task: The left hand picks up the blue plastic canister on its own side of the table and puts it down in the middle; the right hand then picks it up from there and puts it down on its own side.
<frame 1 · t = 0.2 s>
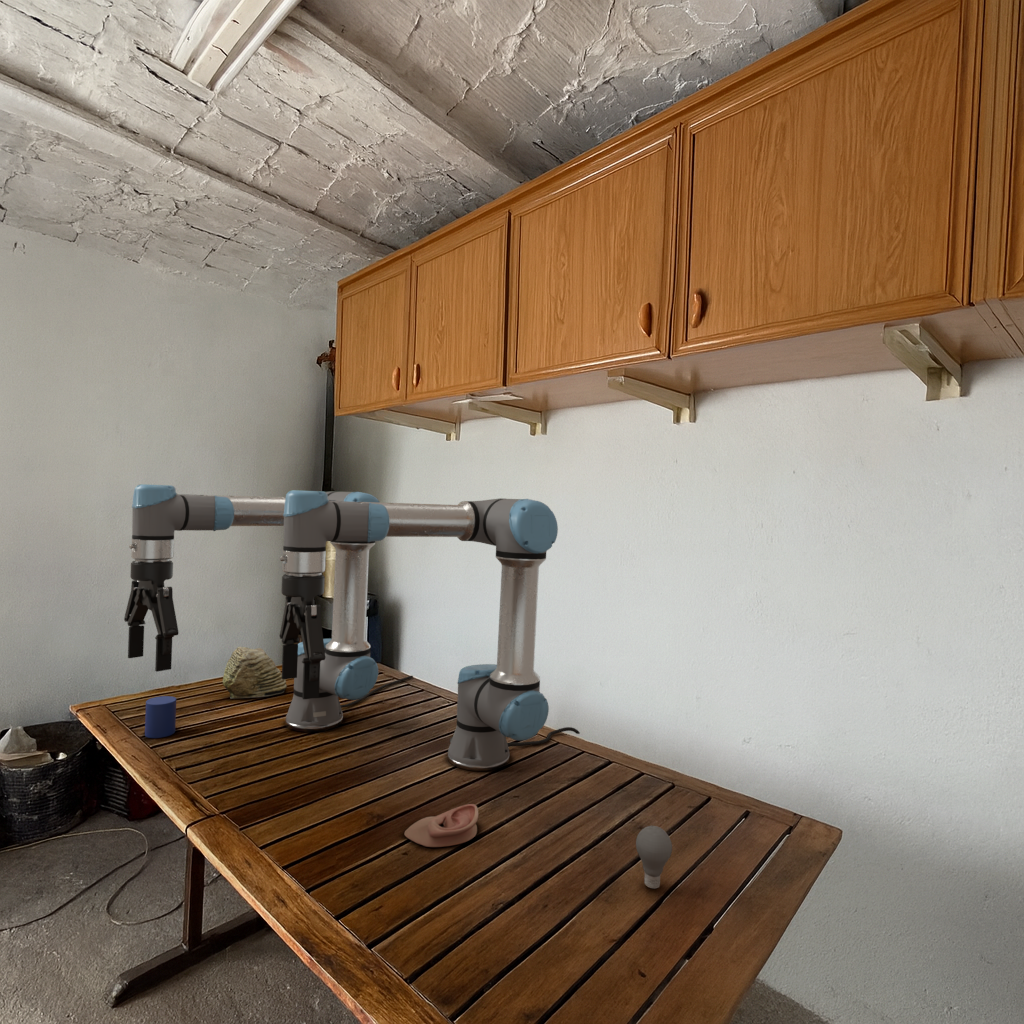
left hand: (148, 663, 130), 28 cm above the table, tool pointing down, fingers open, 13 cm apart
right hand: (299, 687, 118), 28 cm above the table, tool pointing down, fingers open, 13 cm apart
canister: (160, 733, 164), on the table
light bulb: (651, 887, 107), on the table
fossil: (254, 694, 198), on the table
anatomical model: (441, 833, 121), on the table
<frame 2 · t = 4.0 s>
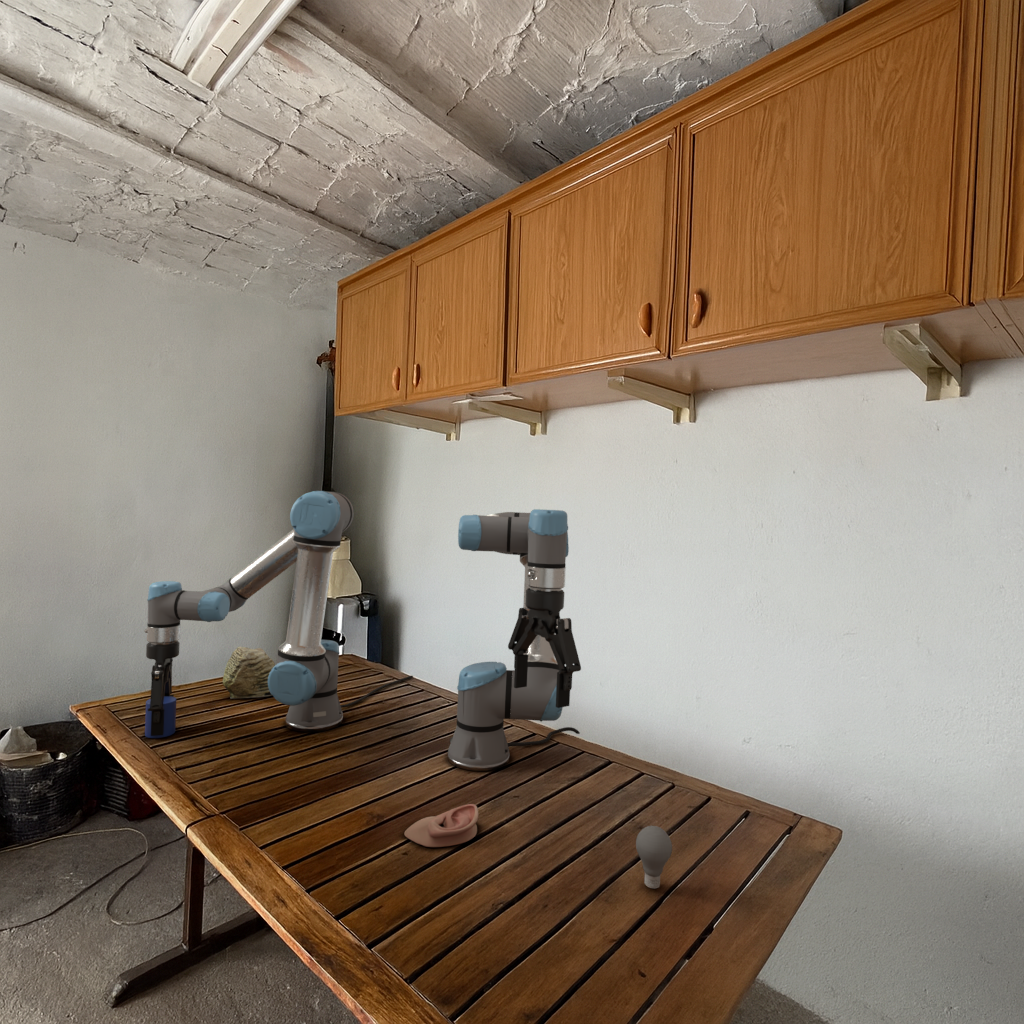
left hand: (160, 729, 164), 1 cm above the table, tool pointing down, fingers closed on canister, 7 cm apart
right hand: (540, 696, 124), 26 cm above the table, tool pointing down, fingers open, 13 cm apart
canister: (160, 733, 164), on the table, touching left hand
everything else where it was.
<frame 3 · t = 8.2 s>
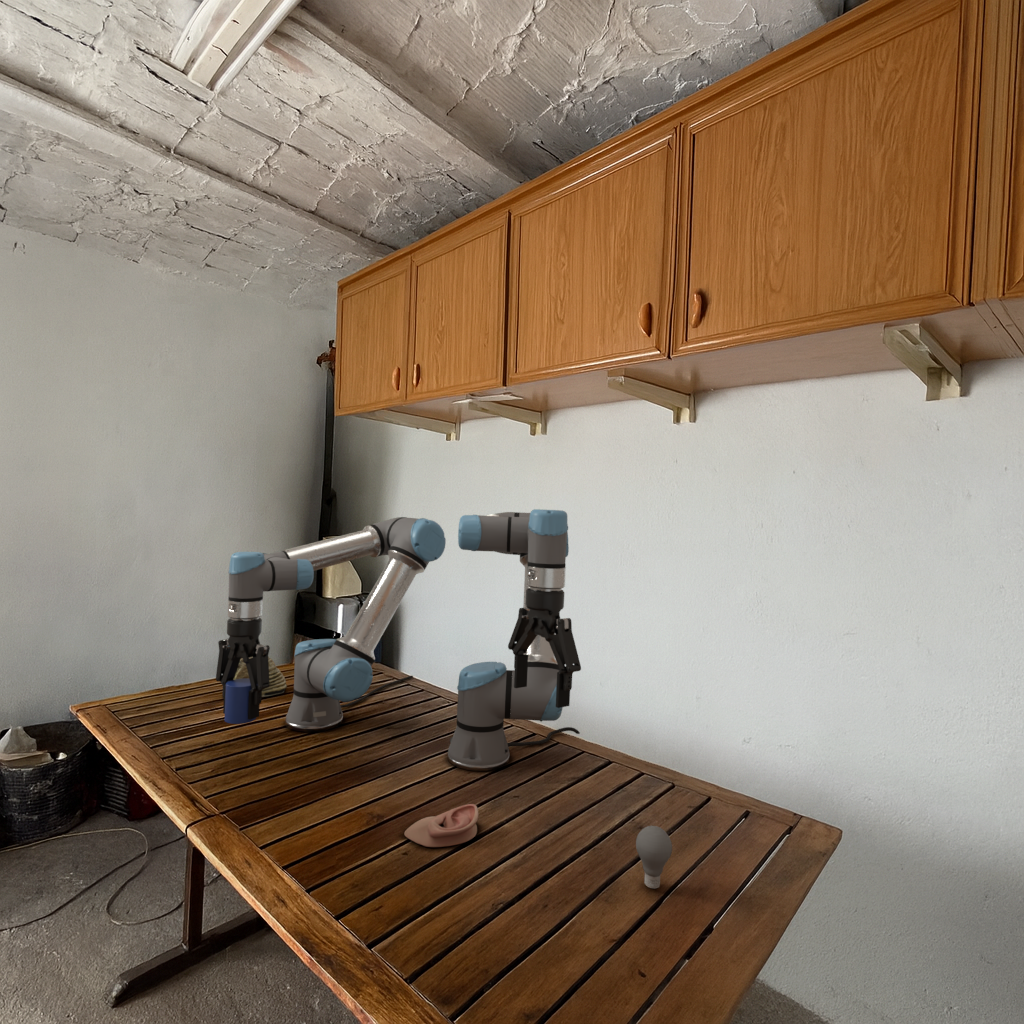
left hand: (241, 714, 149), 11 cm above the table, tool pointing down, fingers closed on canister, 7 cm apart
right hand: (540, 696, 124), 26 cm above the table, tool pointing down, fingers open, 13 cm apart
canister: (240, 718, 149), point 10 cm above the table, touching left hand
everything else where it was.
when the left hand's fingers open (3 cm above the table, at t = 12.7 s): canister drops 2 cm, on the table.
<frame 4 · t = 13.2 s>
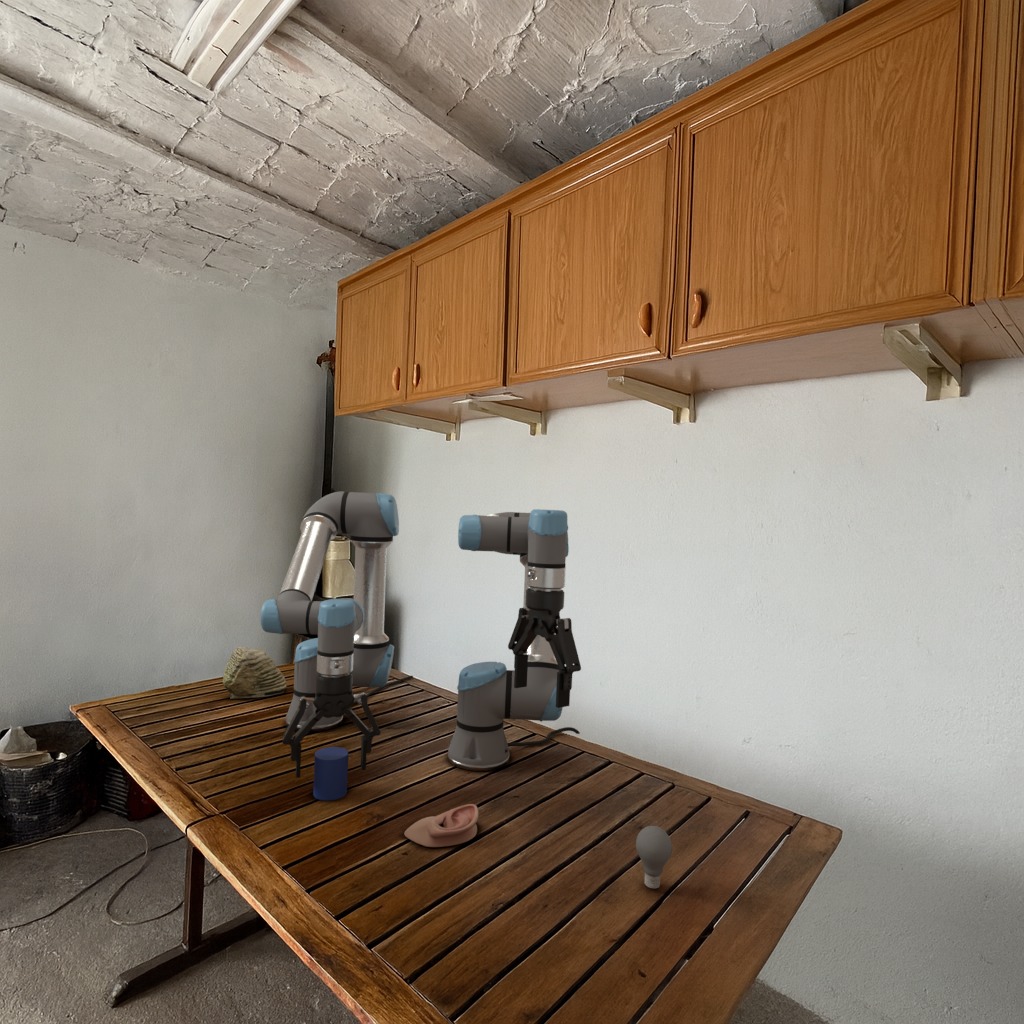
left hand: (331, 771, 136), 5 cm above the table, tool pointing down, fingers open, 13 cm apart
right hand: (540, 696, 124), 26 cm above the table, tool pointing down, fingers open, 13 cm apart
canister: (330, 793, 136), on the table
everything else where it was.
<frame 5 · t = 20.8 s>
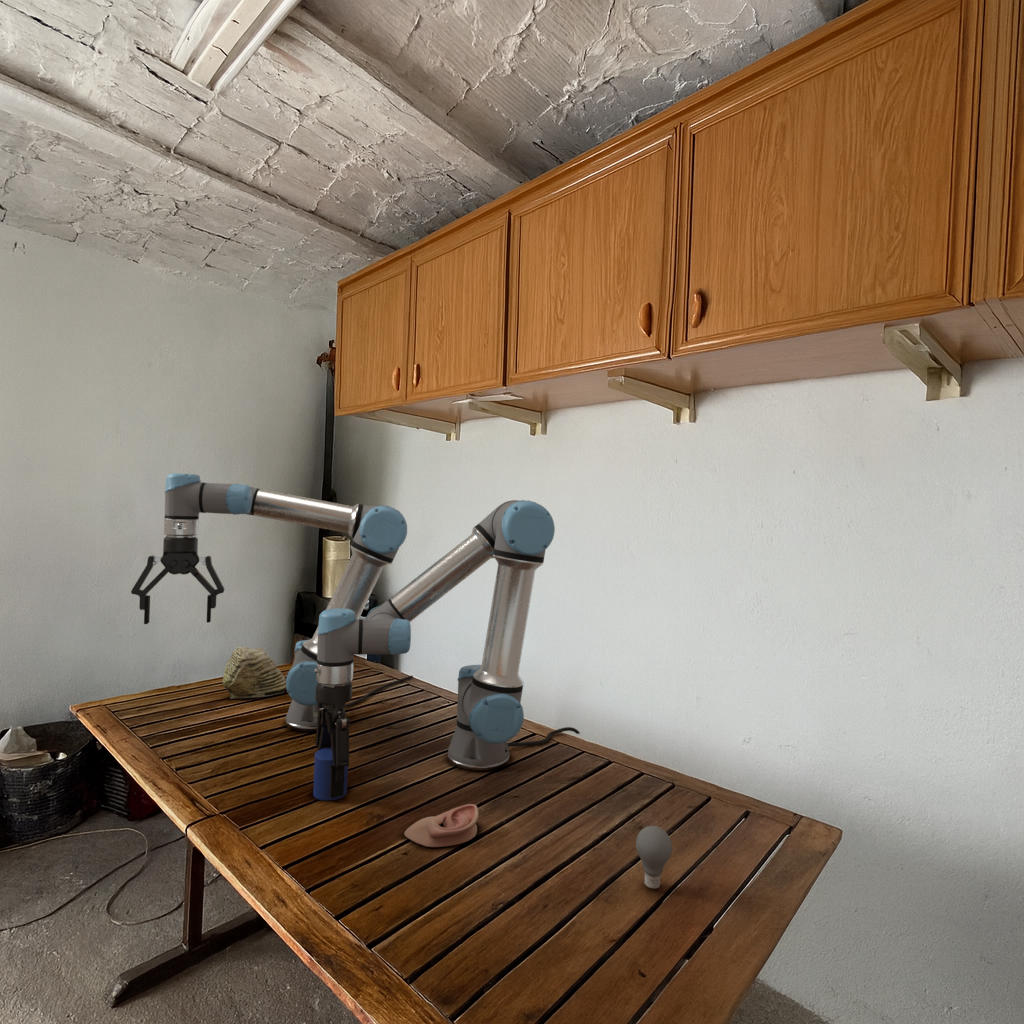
left hand: (178, 622, 156), 31 cm above the table, tool pointing down, fingers open, 13 cm apart
right hand: (330, 788, 136), 1 cm above the table, tool pointing down, fingers closed on canister, 7 cm apart
canister: (330, 793, 136), on the table, touching right hand
everything else where it was.
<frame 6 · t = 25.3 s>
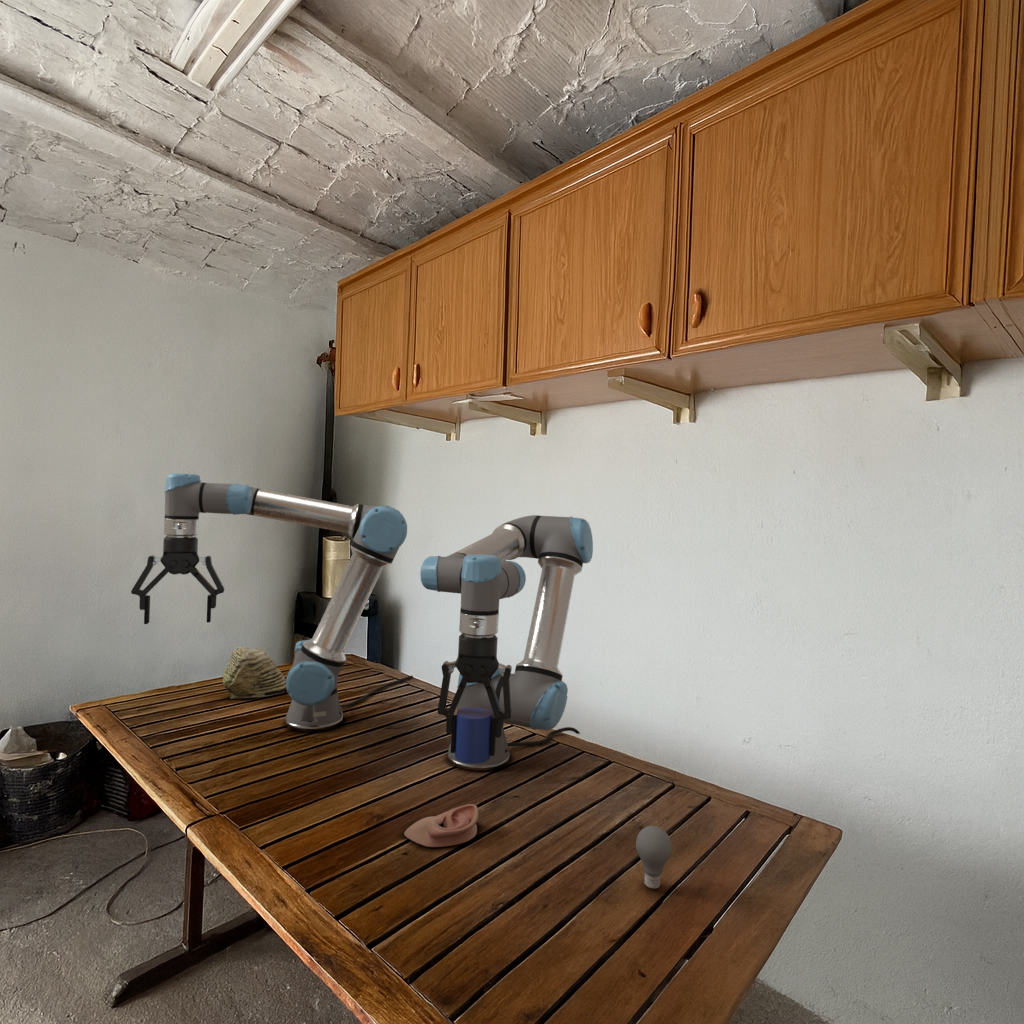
left hand: (178, 622, 156), 31 cm above the table, tool pointing down, fingers open, 13 cm apart
right hand: (473, 751, 123), 15 cm above the table, tool pointing down, fingers closed on canister, 7 cm apart
canister: (472, 756, 123), point 14 cm above the table, touching right hand
everything else where it was.
when the right hand's fingers open (3 cm above the table, at t = 30.0 s): canister drops 2 cm, on the table.
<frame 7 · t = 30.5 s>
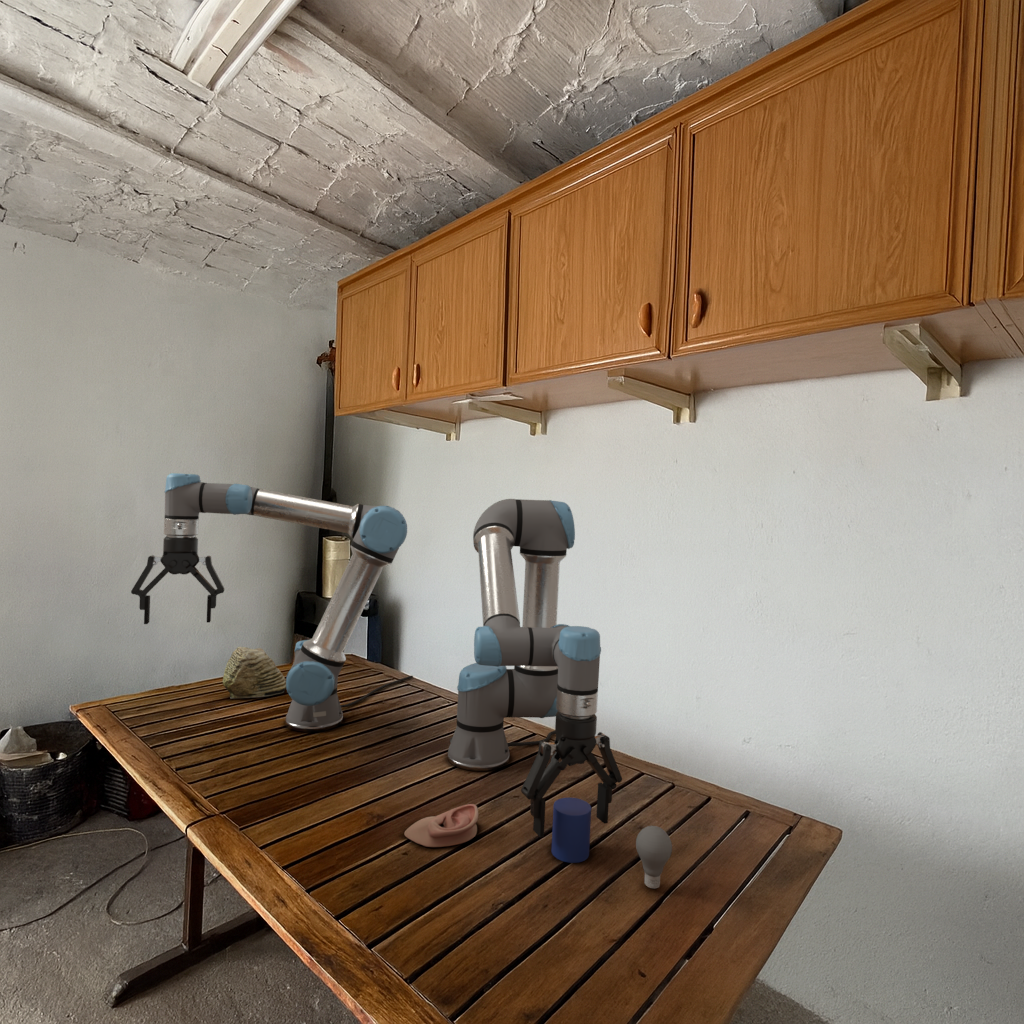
left hand: (178, 622, 156), 31 cm above the table, tool pointing down, fingers open, 13 cm apart
right hand: (570, 826, 117), 5 cm above the table, tool pointing down, fingers open, 13 cm apart
canister: (570, 852, 117), on the table
everything else where it was.
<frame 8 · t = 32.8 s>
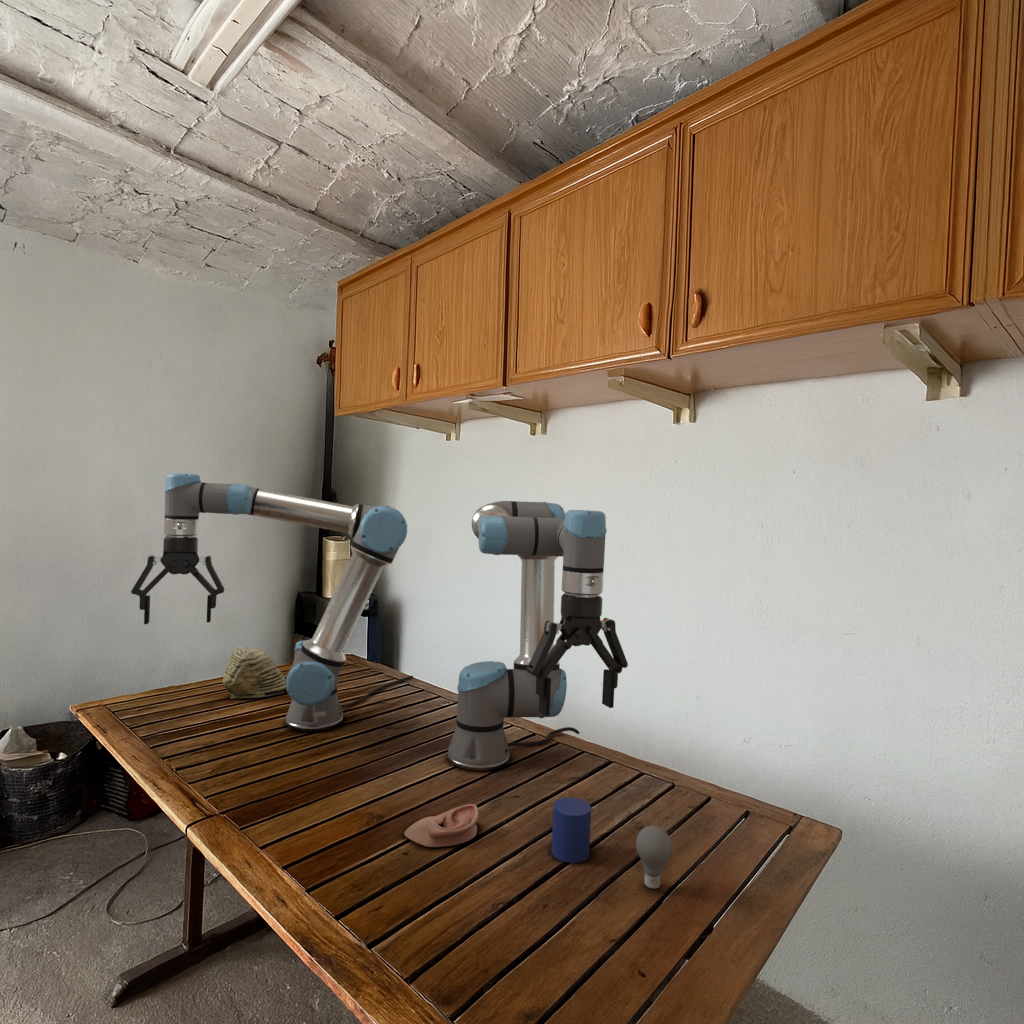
left hand: (178, 622, 156), 31 cm above the table, tool pointing down, fingers open, 13 cm apart
right hand: (576, 709, 116), 26 cm above the table, tool pointing down, fingers open, 13 cm apart
nothing on the table moved.
at the end: canister inside the target area (0.0 cm from its centre), on the table; canister tilted 0°; the two hands never held the canister at the same time; the left hand is holding nothing; the right hand is holding nothing; canister at rest at the end (0.0 cm/s) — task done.
